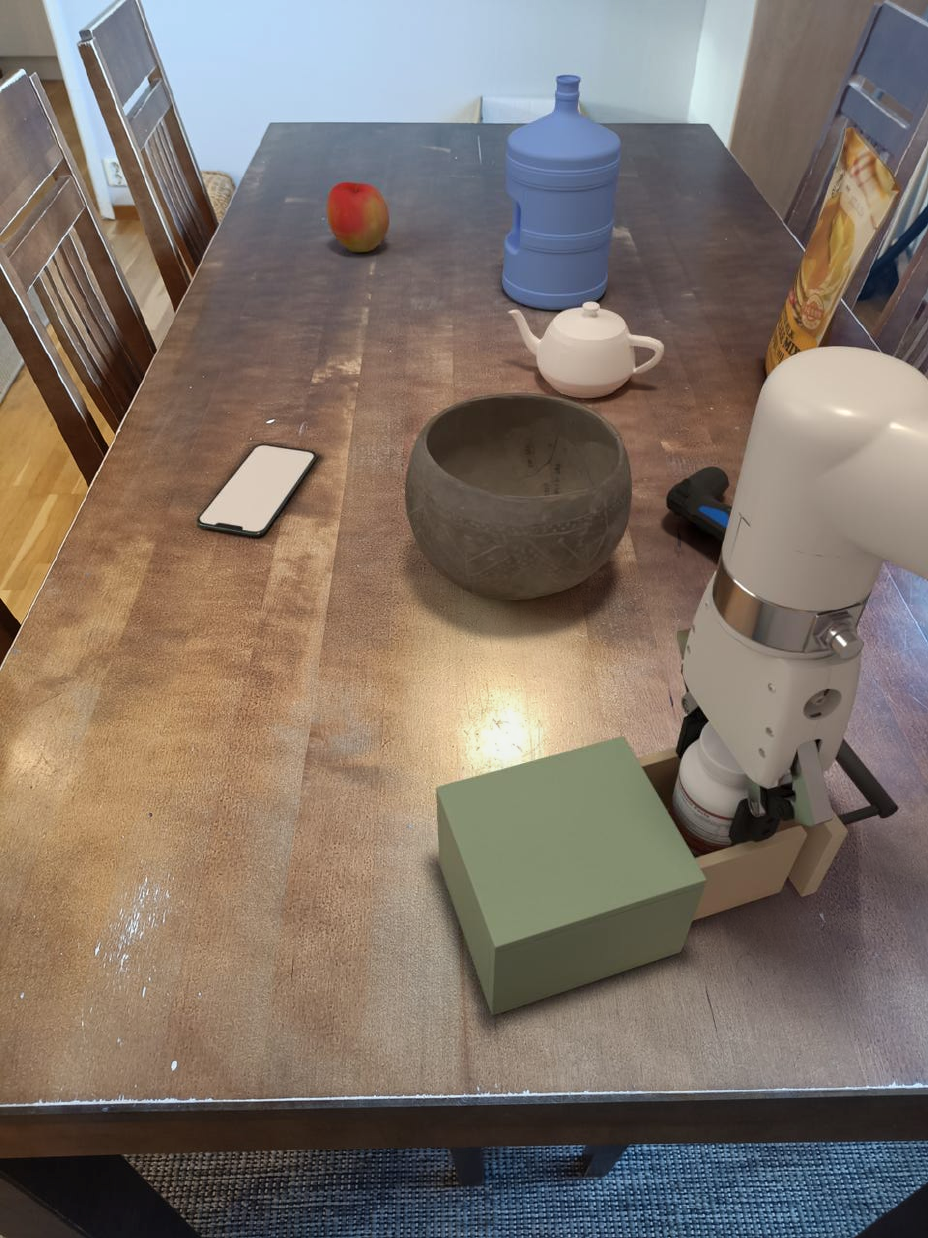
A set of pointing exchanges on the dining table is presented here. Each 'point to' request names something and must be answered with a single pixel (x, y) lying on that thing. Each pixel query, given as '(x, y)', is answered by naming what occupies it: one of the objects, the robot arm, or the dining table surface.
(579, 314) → the teapot
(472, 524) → the bowl
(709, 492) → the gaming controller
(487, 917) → the cabinet
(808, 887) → the drawer
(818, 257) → the pancake mix bag
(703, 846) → the pill bottle
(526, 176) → the water jug
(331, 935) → the dining table surface
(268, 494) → the smartphone
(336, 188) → the apple
